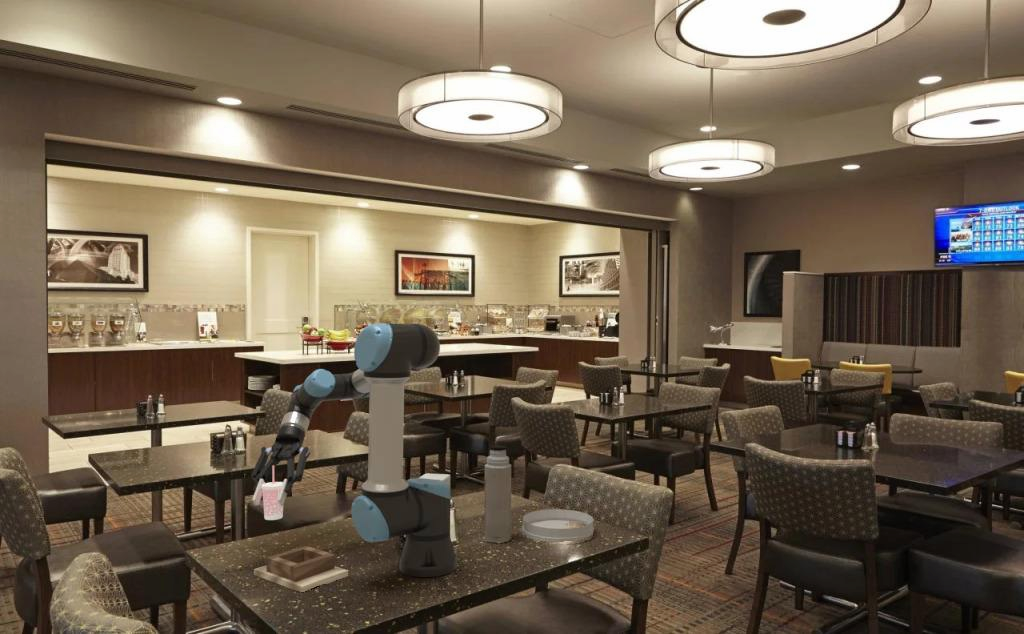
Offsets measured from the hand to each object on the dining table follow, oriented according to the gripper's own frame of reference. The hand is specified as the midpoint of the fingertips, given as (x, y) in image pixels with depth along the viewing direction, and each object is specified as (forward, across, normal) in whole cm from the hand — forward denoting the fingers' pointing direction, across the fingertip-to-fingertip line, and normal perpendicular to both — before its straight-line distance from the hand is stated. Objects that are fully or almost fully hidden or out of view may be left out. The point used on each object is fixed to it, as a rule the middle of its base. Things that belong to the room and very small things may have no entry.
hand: (267, 502), depth 186 cm
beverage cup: (+1, 0, -6) cm, 6 cm away
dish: (-14, -75, -41) cm, 86 cm away
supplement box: (-21, -34, -46) cm, 61 cm away
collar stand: (+15, -10, -10) cm, 21 cm away
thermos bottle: (-9, -57, -35) cm, 68 cm away
